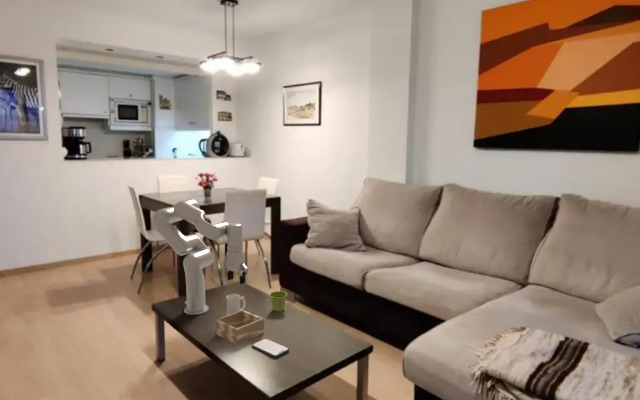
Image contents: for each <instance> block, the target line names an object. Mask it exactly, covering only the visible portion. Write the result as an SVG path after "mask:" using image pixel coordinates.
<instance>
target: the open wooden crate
mask: <svg viewBox="0 0 640 400" xmlns="http://www.w3.org/2000/svg"><path fill="white" fill-rule="evenodd" d="M214 322H215V324H214V325H215V335H217V336H219V337H221V338H223V339H225V340H227V341H228V342H231V343H232V344H235V345H240V344H242V343H244V342H247V341H249V340H251V339H253V338H256V337H258V336H260V335H262V334H264V333H265V318H264V317H261V316H259V315H256V314H255V313H251V312H249V311H246V310H245V309H244V310H240V311H238V312H235V313H232V314H230V315H227V314H226V315H225V316H222V317H220V318H217V319H215V321H214Z"/></svg>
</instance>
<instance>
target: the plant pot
mask: <svg viewBox="0 0 640 400" xmlns="http://www.w3.org/2000/svg"><path fill="white" fill-rule="evenodd" d="M287 296H288V293H287V292H285V291H281V290H277V291H272V292H270V293H269V297H270V300H271V301H270V302H271V309H272V311H274V312H283V311H284V310H285V306H286V305H285V304H286V298H287Z"/></svg>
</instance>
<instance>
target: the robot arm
mask: <svg viewBox="0 0 640 400" xmlns="http://www.w3.org/2000/svg"><path fill="white" fill-rule="evenodd" d="M200 207H201V206H200V204H199V203H198V201H197V200H195V199H190V198H189V199H185V200H180V201H178V202H176V203H175V204H174V205H173V206H169V207H164V208H160V209H158V210H156V211H155V212H154V213H153V216H152V224H153V225H152V226H153V227H154V229H155V231H156V232H158V234H159V235H160V236H161V237H162V238H163V239H164V240H165V241H166V242H167V244H168V245H169V246H170V248H171V249H172V250H173V251H174V252H175V254H177V255H178V256H185V255H186V256H185V257H184V259H183V261H182V262H183V263H182V265H183V269H184V273H185V274H184V276H185V286H186V289H185V291H186V293H185V294H186V300H185V301H184V304H186V306H185V308H184V309H183V312H184V313H185V314H186V315H188V316H189V315H191V316H194V315H195V316H197V315H201V314H205V313H207V312H208V311H209V306H208V305H207V304H206V283H205V274H204V273H203V271H202V269H203V268H207V267H209V266H210V265H212V263H213V262H214V254H213V253H212V251H211V250H210V248H209V247H208V246H207V245H206V244H205V242H204V241H203V239H201V237H199V236H197V235H196V234H188V235H184V234H183V233H182V232H181V231H180V230H179V228H177V227H176V226H174V225H172V224H174V223H177V222H180V221H183V220H184V221H186V222H188V223H190V224H192V225H194V226H195V229H196V230H197V232H198V233H199V234H200V235H202V237H205V238H207V239H209V240H213V241H216V240H220V239H222V238H226V239H227V244H226V245H227V250H226V255H225V262H224V267H225V269H226V273H227V281H231V280H233V279H234V273H239V275H240V276H239V284H240V285H243V284H246V283H247V282H246V279H247V278H246V276H247V273H248V270H249V268H248V266H247V265H246V261H245V260H246V259H245V255H244V254H245V253H244V249H243V248H244V245H243V239H244V238H243V226H242V224H241V223H232V222H228V221H222V222H218V223H215V224H212V223H210V222H208V221H206V216H207V215H206V212H205V211H204V210H202V209H201V208H200Z"/></svg>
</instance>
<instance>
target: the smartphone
mask: <svg viewBox="0 0 640 400" xmlns="http://www.w3.org/2000/svg"><path fill="white" fill-rule="evenodd" d="M251 348H253V349H255V350H257V351H258V352H260V353H263V354H265V355H267V356H268V357H270V358H272V359H278V358H280V357H282V356H284V355H286V354H288V353H289V352H290V349H289V347H287V346H284V345H282V344H280V343H278V342H275V341H273V340H270V339H268V338H263V339H261V340H260V341H257V342H255V343H253V344H251Z"/></svg>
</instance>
